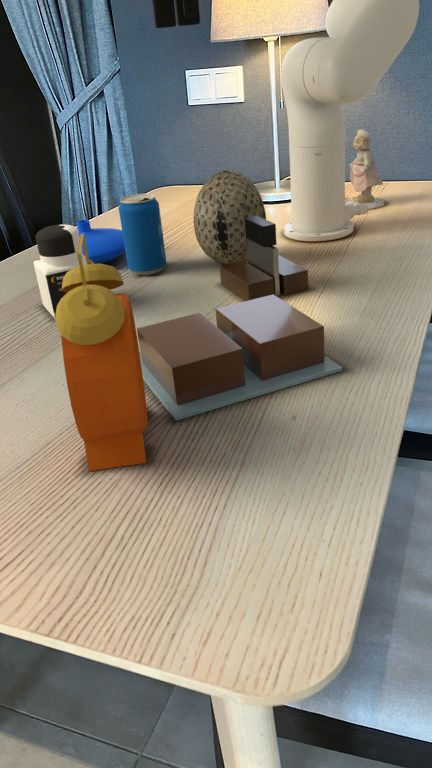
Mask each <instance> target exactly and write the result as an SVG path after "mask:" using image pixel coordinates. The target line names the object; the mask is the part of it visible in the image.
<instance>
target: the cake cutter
mask: <svg viewBox="0 0 432 768" xmlns="http://www.w3.org/2000/svg"><path fill="white" fill-rule="evenodd" d="M245 231H246V235H245V240H246V254H247V260H246V263H248V264H250V265H251V266H253V267H255V268H256V269H258V270H260V271H262V272H263V273H265V274H267V275H268V276H270V277H272V278H273V281H274V295H275V296H277V297H279V296H281V293H280V281H279V260H278V255H279V248H278V247H276V245H277V225H276V223H274V222H272V221H270V220H267V219H266V220H265V219H263V218H261V217H258V216H252V217H247V218H245Z"/></svg>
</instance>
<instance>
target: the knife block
mask: <svg viewBox="0 0 432 768" xmlns="http://www.w3.org/2000/svg"><path fill="white" fill-rule="evenodd" d="M278 260H279V281H280V295H283V296H288V295H292V294H295V293H301V292H303V291H308V290H309V269H307V268H305V267H303V266H301V265H299V264H297V263H295V262H294V261H291V260H289V259H287V258H286V257H284V256H281V255H280V254H278ZM219 278H220V285H221V286H223V287H224V288H226V289H227V290H229V291H230V292H231V293H233V294H234V295H235V296H237V297H238V298H240V299H241V300H242V301H243V302H245V301H249V300H253V299H257V298H261V297H265V296H269V295H274V281H273V278H272V277H270V276H268V275H267V274H265V273H263V272H262V271H260V270H258V269H256V268H255V267H253V266H251V265H250V264H248V263H247V261H239V262H234V263H230V264H221V265H219Z"/></svg>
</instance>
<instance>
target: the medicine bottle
mask: <svg viewBox="0 0 432 768" xmlns="http://www.w3.org/2000/svg"><path fill="white" fill-rule="evenodd" d="M79 240H80V236H79V231H78V229H77V226H74V225H71V224H54V225H49V226H45V227H43V228H42V229H39V231H38V232H37V233H36V234H35V243H36V245H37V250H38V255H39V259H37V260H34V261H33V267H34V272H35V276H36V280H37V284H38V285H37V286H38V289H39V294H40V298H41V303H42V306H44V308H45V309H46V311H48V313H49V314H50V315H51V316H52V318H53V319H55V318H56V309H57V305H58V303H59V302H60V300H61V298H62V297H63V296H65V295H66V294H67V292H64V291H62V283H63V278H64V276H65V275H66V273H67V272H68V271H70V270H72V269H74V268H76V267H78V266H79V261H78V255H77V251H78V245H79ZM82 253H83V252H82V248H81V257H82V263H83V265H87V262H86V258H85V256H84V255H83V254H82ZM92 263H93V262H92ZM93 264H94V263H93Z"/></svg>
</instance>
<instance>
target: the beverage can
mask: <svg viewBox="0 0 432 768" xmlns="http://www.w3.org/2000/svg"><path fill="white" fill-rule="evenodd" d="M119 201H120V202H119V203H120V204H119V206H118V214H119V219H120V226H121V230H122V233H123V239H124V245H125V252H124V253H125V257H126V263H127V269H128V270H129V271H130V272H132V273H133V274H134V275H137V276H149V275H154V274H158V273H161V272H162V271H163V270H164V268H165V267H166V266H167V264H168V261H167V255H166V249H165V241H164V233H163V231H164V230H163V224H162V216H161V209H160V203H159V201H158V200H157V199H156V195H155V194H153V193H136V194H130V195H125V196H124V197H121V198H120V199H119Z"/></svg>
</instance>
